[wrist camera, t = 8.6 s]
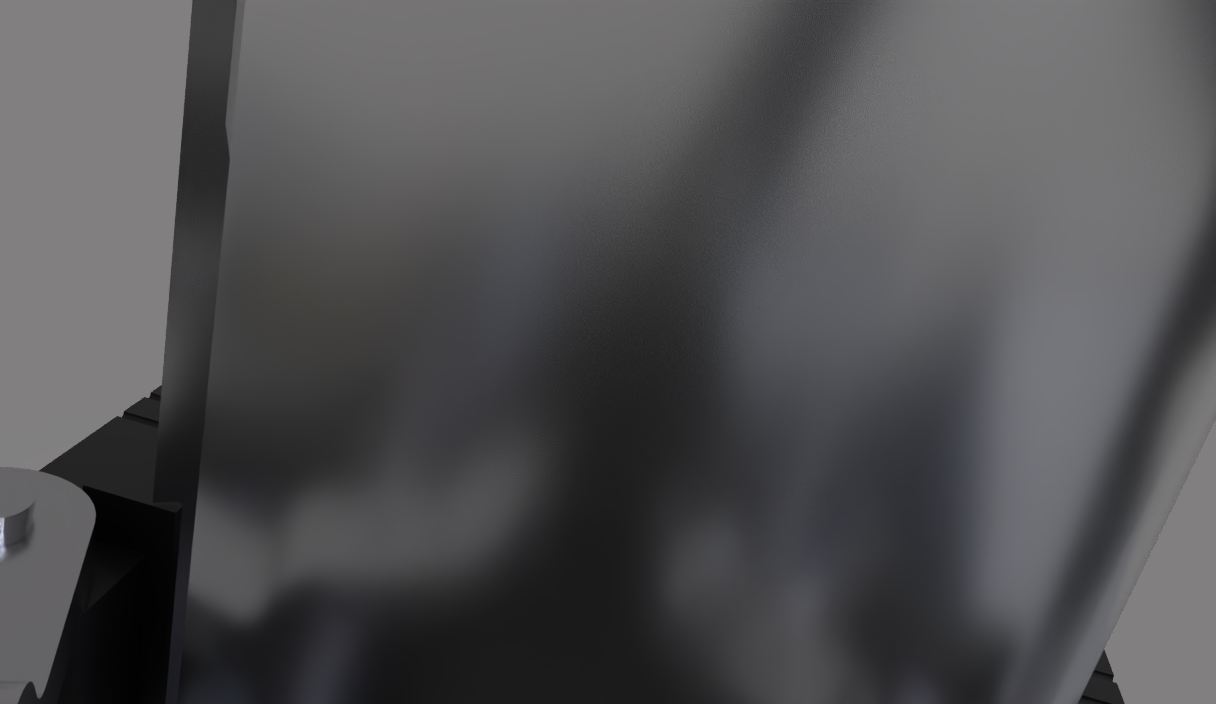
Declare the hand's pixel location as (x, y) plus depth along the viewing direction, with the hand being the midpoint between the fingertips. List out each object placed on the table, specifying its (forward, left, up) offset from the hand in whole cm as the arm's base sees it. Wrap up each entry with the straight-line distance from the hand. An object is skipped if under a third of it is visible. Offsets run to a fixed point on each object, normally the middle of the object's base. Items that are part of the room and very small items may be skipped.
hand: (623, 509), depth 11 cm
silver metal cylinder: (0, +3, -13) cm, 13 cm away
